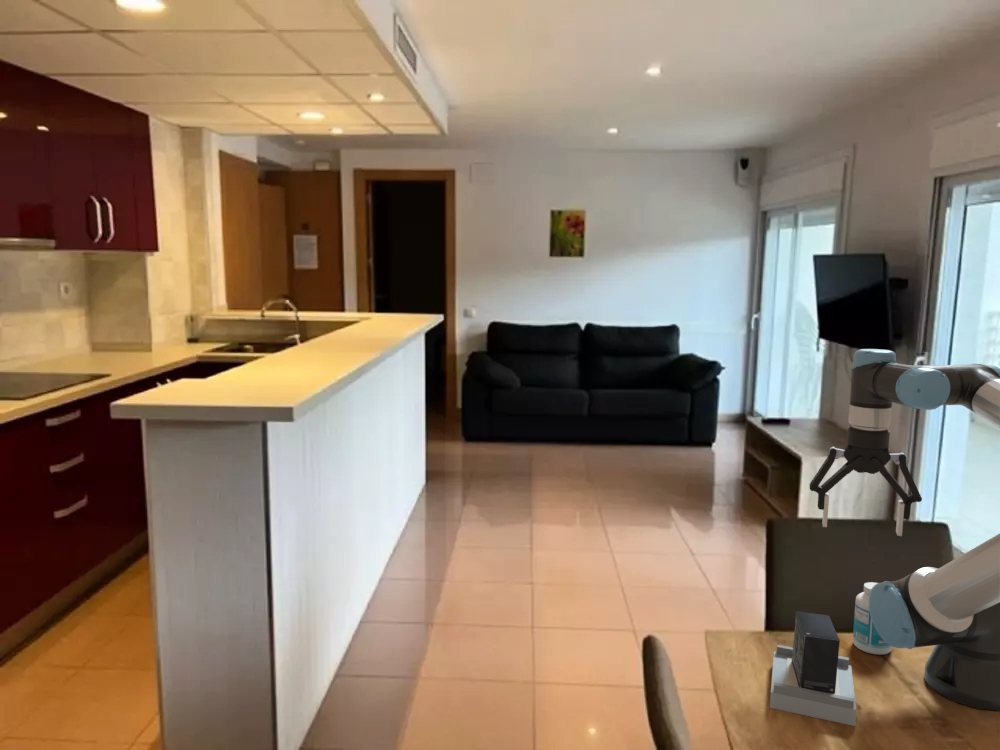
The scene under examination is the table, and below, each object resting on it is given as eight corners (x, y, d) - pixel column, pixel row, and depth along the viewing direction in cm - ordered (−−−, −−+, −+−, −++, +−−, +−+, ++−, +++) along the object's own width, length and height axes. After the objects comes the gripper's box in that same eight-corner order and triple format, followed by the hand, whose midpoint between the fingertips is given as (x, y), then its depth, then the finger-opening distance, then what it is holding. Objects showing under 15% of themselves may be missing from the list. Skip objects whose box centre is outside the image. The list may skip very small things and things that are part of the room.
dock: (849, 680, 142) (851, 658, 142) (855, 726, 128) (857, 702, 127) (773, 665, 148) (774, 644, 147) (769, 707, 133) (771, 684, 132)
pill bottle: (893, 645, 156) (898, 584, 154) (890, 660, 150) (895, 597, 148) (854, 635, 160) (859, 576, 158) (849, 649, 154) (854, 588, 152)
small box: (837, 695, 131) (842, 640, 130) (799, 690, 133) (802, 635, 131) (826, 665, 142) (830, 613, 140) (790, 661, 143) (793, 610, 142)
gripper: (937, 428, 145) (927, 531, 148) (801, 418, 154) (794, 516, 157) (944, 435, 138) (934, 543, 141) (801, 425, 147) (795, 526, 150)
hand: (861, 529), depth 149 cm, fingers open, 13 cm apart
